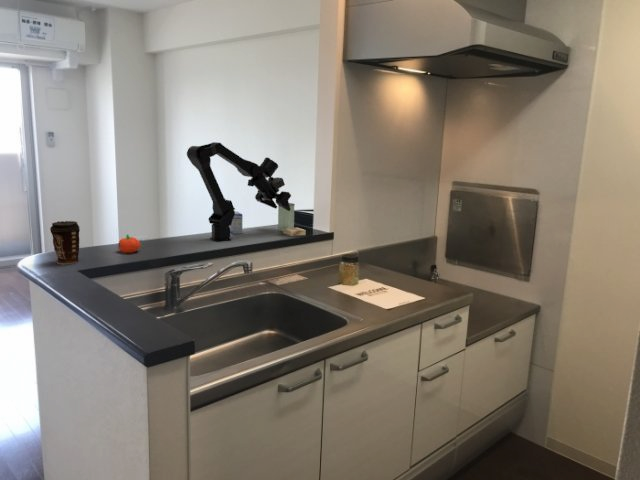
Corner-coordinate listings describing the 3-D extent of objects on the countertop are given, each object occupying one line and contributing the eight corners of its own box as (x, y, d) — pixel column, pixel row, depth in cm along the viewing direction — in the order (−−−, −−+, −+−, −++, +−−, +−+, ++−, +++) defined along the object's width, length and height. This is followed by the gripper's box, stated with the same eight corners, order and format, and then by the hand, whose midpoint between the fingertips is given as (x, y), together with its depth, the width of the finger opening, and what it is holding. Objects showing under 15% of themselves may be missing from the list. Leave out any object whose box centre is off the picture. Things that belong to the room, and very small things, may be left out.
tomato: (126, 256, 181) (123, 239, 179) (115, 252, 186) (112, 235, 184) (145, 251, 185) (142, 234, 184) (134, 247, 191) (131, 230, 189)
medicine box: (227, 230, 230) (227, 211, 228) (237, 230, 232) (237, 211, 230) (232, 234, 223) (232, 214, 221) (242, 233, 224) (242, 213, 223)
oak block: (291, 237, 222) (291, 231, 221) (283, 234, 227) (283, 228, 227) (305, 235, 226) (305, 230, 225) (297, 233, 231) (297, 227, 231)
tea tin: (285, 232, 231) (285, 204, 228) (277, 230, 234) (278, 203, 232) (294, 230, 234) (294, 203, 232) (286, 229, 238) (287, 202, 235)
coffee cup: (62, 258, 173) (59, 219, 171) (86, 259, 173) (84, 220, 171) (47, 264, 165) (44, 224, 162) (73, 265, 165) (71, 225, 162)
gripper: (287, 173, 217) (307, 197, 227) (260, 170, 231) (279, 193, 240) (273, 193, 214) (293, 217, 224) (246, 188, 227) (266, 211, 237)
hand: (283, 209), depth 231 cm, fingers open, 9 cm apart
